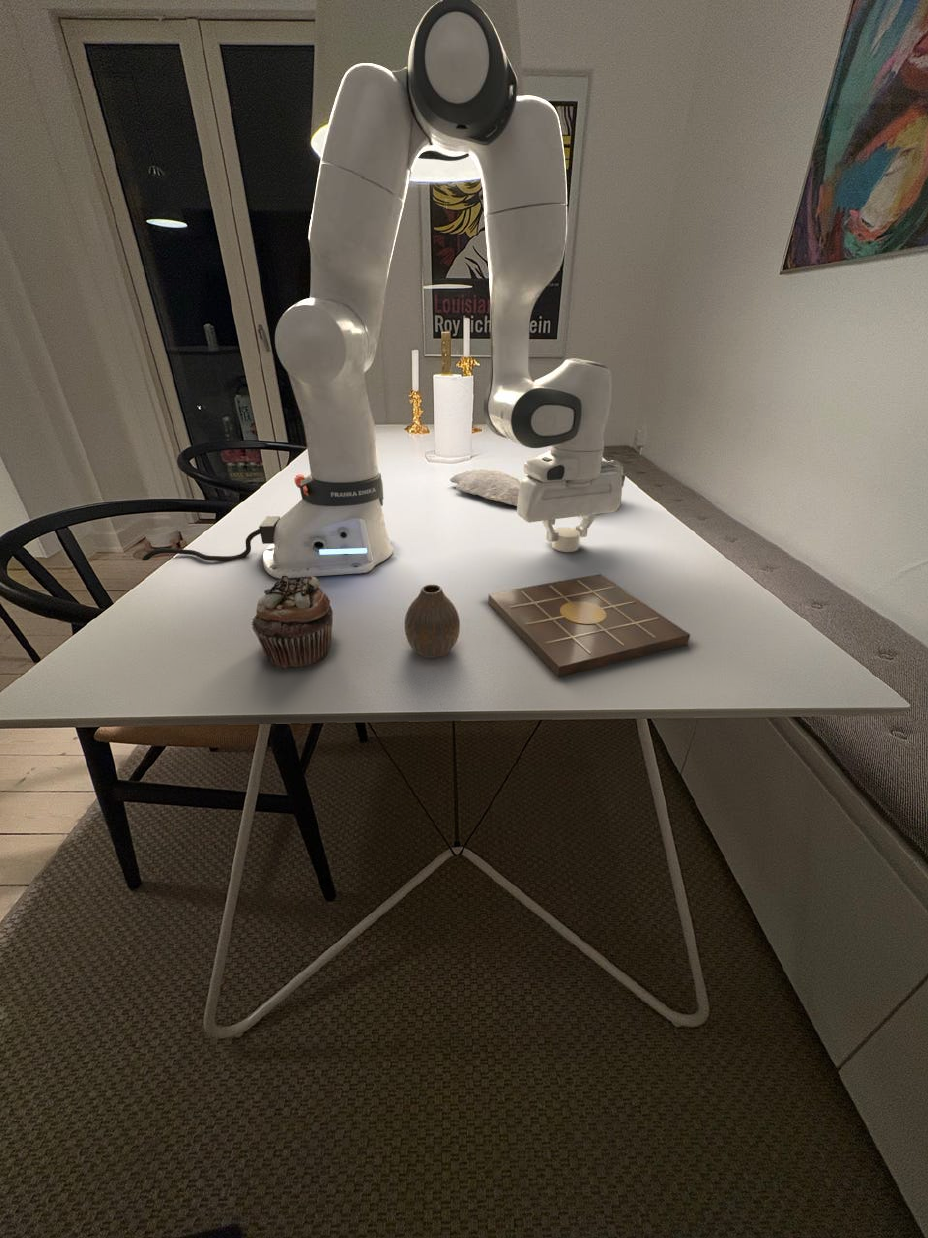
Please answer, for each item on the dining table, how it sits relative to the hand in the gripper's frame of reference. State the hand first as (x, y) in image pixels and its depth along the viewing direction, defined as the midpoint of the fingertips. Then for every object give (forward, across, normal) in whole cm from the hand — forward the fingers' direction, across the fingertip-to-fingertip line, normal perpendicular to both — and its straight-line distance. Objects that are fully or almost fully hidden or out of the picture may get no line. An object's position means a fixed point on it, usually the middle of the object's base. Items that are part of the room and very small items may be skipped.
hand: (566, 538), depth 96 cm
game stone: (+2, 0, 0) cm, 2 cm away
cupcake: (+2, +51, +18) cm, 54 cm away
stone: (+2, -2, -36) cm, 36 cm away
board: (+2, +13, +25) cm, 28 cm away
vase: (+2, +35, +24) cm, 42 cm away
